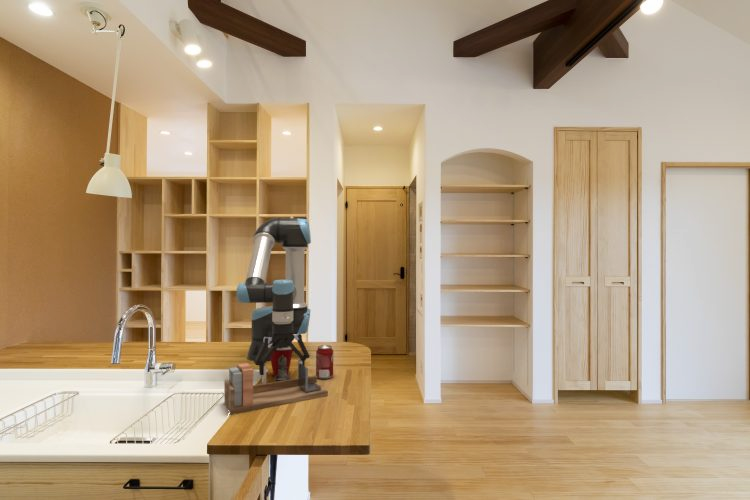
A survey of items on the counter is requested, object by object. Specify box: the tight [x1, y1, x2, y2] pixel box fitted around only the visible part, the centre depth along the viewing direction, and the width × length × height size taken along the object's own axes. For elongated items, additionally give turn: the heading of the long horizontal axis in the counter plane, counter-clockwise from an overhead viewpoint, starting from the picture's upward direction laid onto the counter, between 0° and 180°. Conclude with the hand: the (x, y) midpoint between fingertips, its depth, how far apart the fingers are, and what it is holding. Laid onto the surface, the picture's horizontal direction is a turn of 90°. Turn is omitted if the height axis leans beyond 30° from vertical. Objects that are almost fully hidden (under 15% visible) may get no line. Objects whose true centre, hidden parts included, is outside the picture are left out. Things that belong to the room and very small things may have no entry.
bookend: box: [297, 363, 321, 392], centre depth 140 cm, size 7×6×8 cm
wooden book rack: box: [223, 361, 329, 415], centre depth 134 cm, size 11×32×12 cm, turn 121°
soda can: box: [315, 344, 334, 380], centre depth 157 cm, size 7×7×12 cm
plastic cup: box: [268, 344, 294, 377], centre depth 159 cm, size 11×11×12 cm
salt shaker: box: [273, 354, 292, 382], centre depth 145 cm, size 6×6×12 cm
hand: (282, 380), depth 145 cm, fingers open, 13 cm apart
